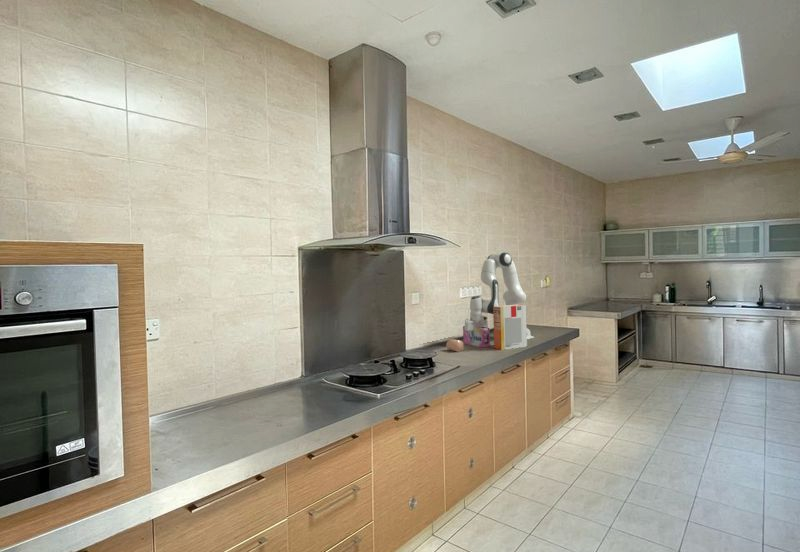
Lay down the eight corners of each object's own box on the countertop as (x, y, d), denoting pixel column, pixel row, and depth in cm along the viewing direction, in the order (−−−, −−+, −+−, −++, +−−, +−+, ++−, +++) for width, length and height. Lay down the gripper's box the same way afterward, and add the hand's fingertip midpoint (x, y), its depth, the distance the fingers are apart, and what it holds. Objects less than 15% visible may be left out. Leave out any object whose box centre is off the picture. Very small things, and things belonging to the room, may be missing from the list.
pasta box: (519, 344, 316) (518, 304, 316) (527, 346, 309) (525, 305, 308) (494, 348, 306) (493, 306, 306) (501, 350, 299) (500, 307, 298)
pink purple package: (491, 346, 313) (491, 328, 313) (483, 347, 310) (482, 329, 309) (471, 342, 334) (470, 324, 334) (463, 343, 330) (462, 325, 330)
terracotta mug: (444, 347, 302) (453, 348, 294) (449, 337, 304) (458, 338, 297) (453, 353, 307) (462, 355, 300) (457, 343, 309) (467, 344, 302)
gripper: (467, 319, 314) (468, 338, 314) (489, 317, 324) (489, 335, 325) (462, 318, 319) (462, 336, 320) (483, 316, 330) (483, 334, 330)
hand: (476, 336), depth 322 cm, fingers open, 8 cm apart
